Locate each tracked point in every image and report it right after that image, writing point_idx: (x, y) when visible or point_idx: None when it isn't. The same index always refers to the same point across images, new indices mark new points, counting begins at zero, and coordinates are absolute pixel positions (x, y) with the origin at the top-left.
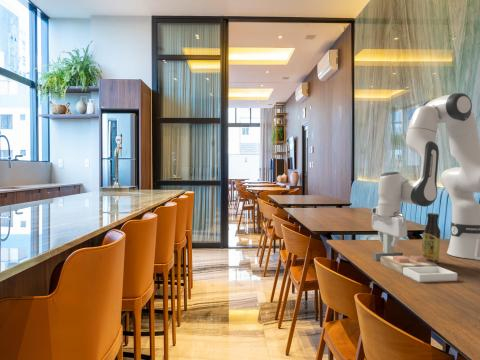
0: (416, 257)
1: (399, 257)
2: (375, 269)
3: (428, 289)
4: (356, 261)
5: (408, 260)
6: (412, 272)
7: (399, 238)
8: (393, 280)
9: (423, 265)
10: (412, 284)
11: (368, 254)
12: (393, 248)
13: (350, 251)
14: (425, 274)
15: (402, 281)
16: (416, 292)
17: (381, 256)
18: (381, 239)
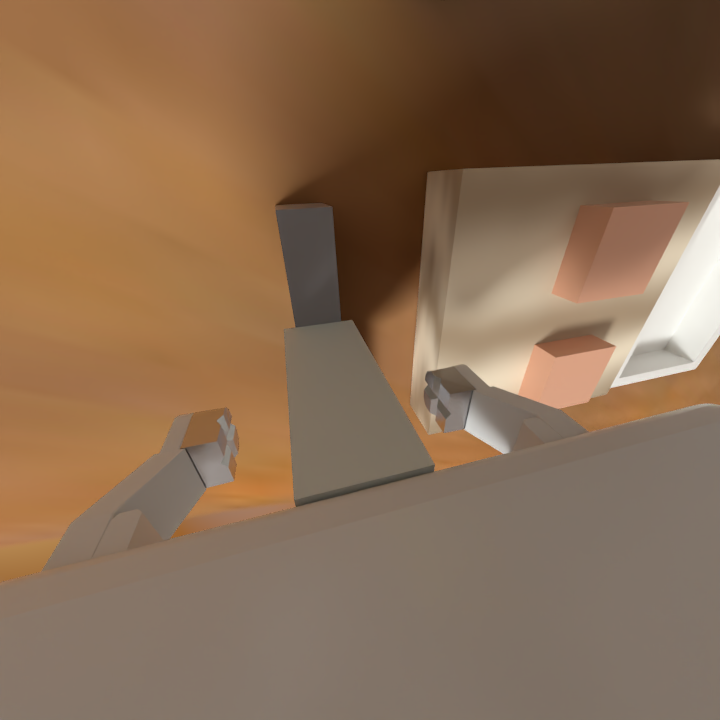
0: (634, 283)
1: (573, 392)
2: (481, 442)
3: (704, 359)
4: None
5: (600, 344)
6: (656, 374)
7: (563, 413)
8: (597, 422)
9: (665, 277)
10: (653, 384)
11: (147, 407)
12: (363, 343)
13: (66, 493)
14: (711, 345)
15: (619, 401)
16: (687, 400)
17: (434, 431)
18: (232, 471)
